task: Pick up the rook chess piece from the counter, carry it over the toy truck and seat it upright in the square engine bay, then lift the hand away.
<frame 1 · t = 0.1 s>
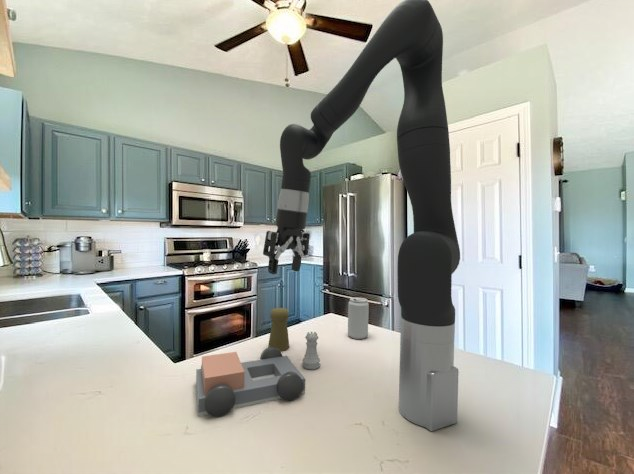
hand: (284, 272, 75), 22 cm above the counter, tool pointing down, fingers open, 8 cm apart
beverage can: (357, 337, 94), on the counter
toy truck: (249, 388, 61), on the counter
rook chess piece: (311, 366, 72), on the counter
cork: (278, 348, 83), on the counter
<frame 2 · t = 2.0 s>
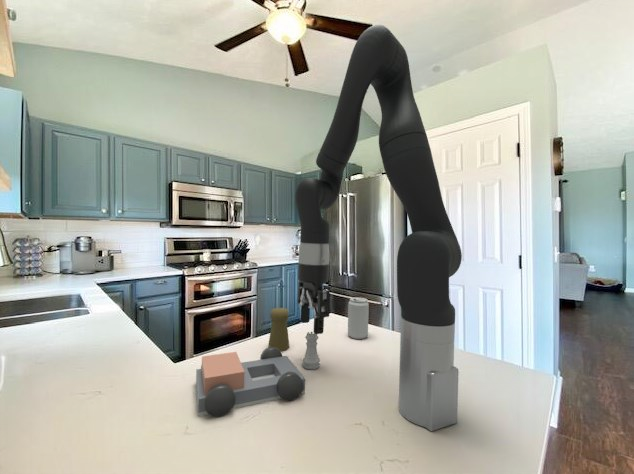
hand: (311, 327, 72), 9 cm above the counter, tool pointing down, fingers open, 8 cm apart
nothing on the counter moved.
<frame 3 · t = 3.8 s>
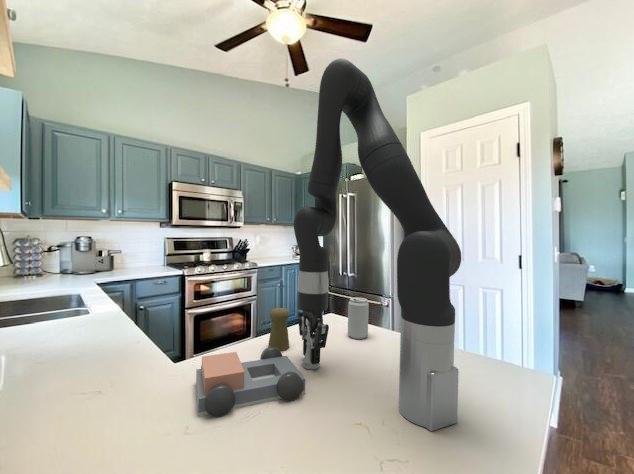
hand: (311, 358, 72), 2 cm above the counter, tool pointing down, fingers closed on rook chess piece, 4 cm apart
rook chess piece: (311, 366, 72), on the counter, touching gripper
everything else where it was.
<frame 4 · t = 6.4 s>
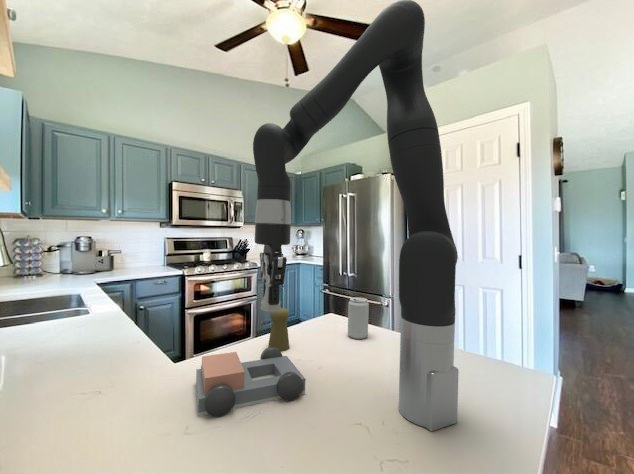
hand: (270, 301, 63), 17 cm above the counter, tool pointing down, fingers closed on rook chess piece, 4 cm apart
rook chess piece: (270, 310, 63), point 16 cm above the counter, touching gripper
everything else where it was.
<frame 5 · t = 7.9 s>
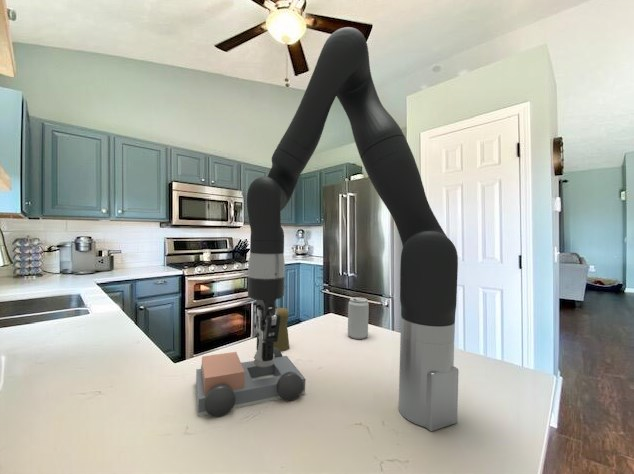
hand: (264, 355, 62), 6 cm above the counter, tool pointing down, fingers closed on rook chess piece, 4 cm apart
rook chess piece: (264, 364, 62), point 4 cm above the counter, touching gripper
everything else where it was.
when the fingers open (4 cm above the counter, at t = 9.2 s): rook chess piece drops 1 cm, resting on toy truck.
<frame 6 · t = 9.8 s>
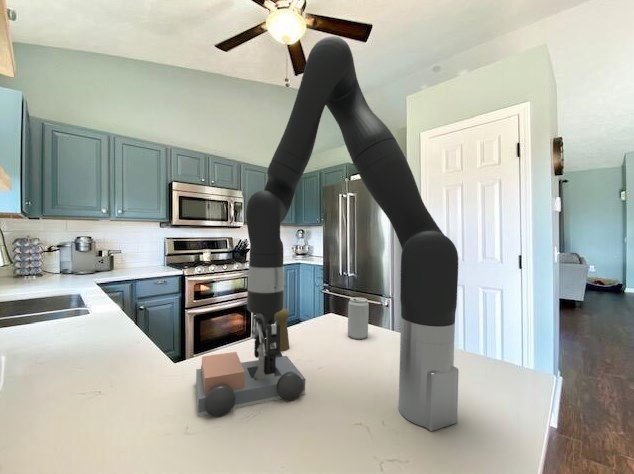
hand: (264, 364, 62), 5 cm above the counter, tool pointing down, fingers open, 8 cm apart
rook chess piece: (264, 383, 62), resting on toy truck
everything else where it was.
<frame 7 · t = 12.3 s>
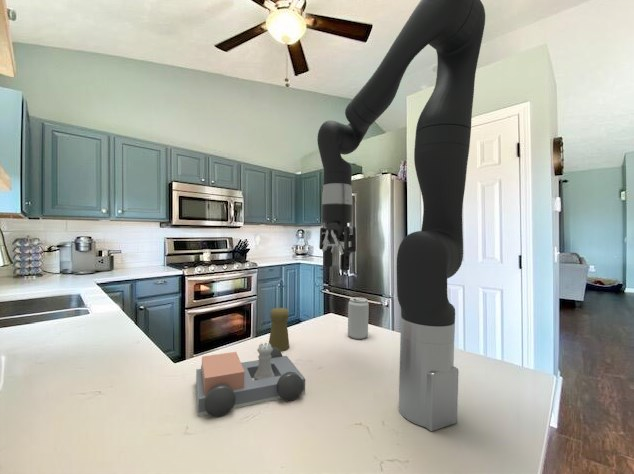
hand: (335, 268, 74), 24 cm above the counter, tool pointing down, fingers open, 8 cm apart
nothing on the counter moved.
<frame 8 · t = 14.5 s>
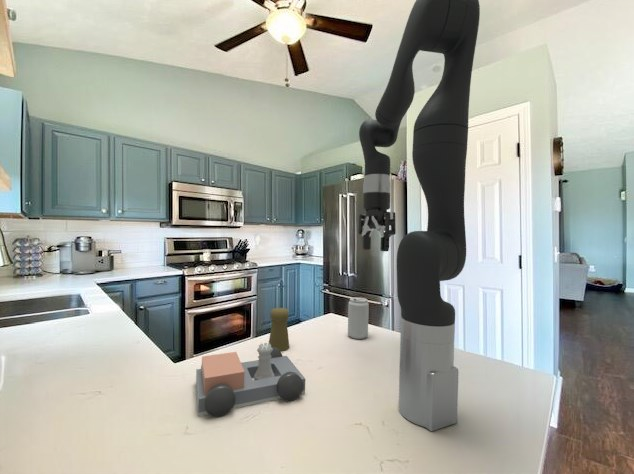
hand: (375, 250, 82), 28 cm above the counter, tool pointing down, fingers open, 8 cm apart
nothing on the counter moved.
at the end: rook chess piece 0.1 cm from the target spot on the toy truck, point 0.4 cm above the toy truck's base; rook chess piece tilted 0°; the gripper is holding nothing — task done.
